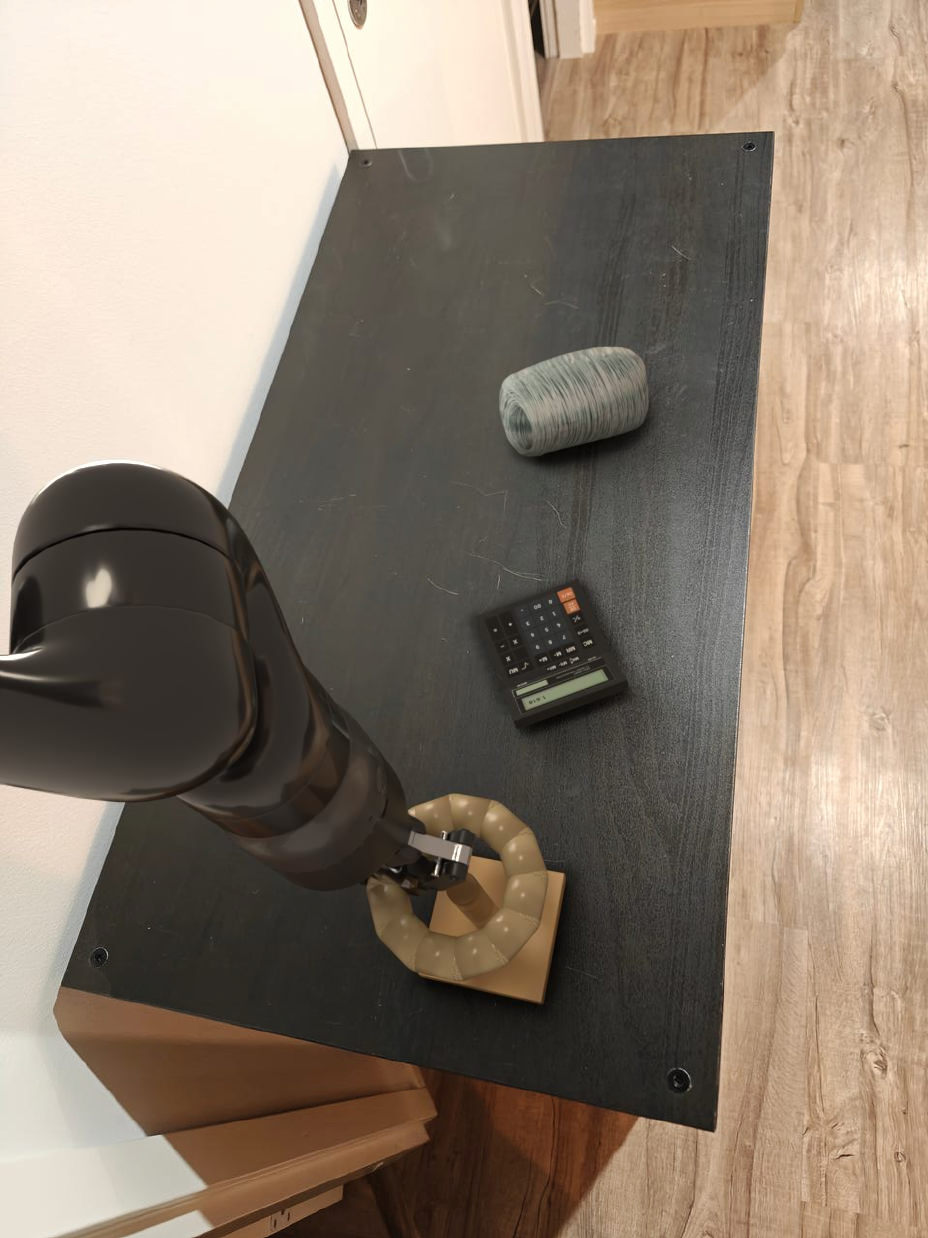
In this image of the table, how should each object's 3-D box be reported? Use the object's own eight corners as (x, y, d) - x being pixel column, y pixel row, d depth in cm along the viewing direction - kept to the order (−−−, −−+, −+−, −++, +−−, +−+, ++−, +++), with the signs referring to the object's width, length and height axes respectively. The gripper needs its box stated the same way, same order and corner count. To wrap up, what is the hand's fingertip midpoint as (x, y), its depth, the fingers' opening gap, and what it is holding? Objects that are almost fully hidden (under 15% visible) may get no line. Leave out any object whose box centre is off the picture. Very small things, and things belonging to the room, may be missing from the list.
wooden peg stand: (422, 977, 69) (373, 947, 57) (450, 855, 73) (410, 804, 61) (543, 1005, 66) (518, 980, 55) (566, 878, 70) (547, 829, 59)
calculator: (578, 583, 82) (576, 565, 79) (630, 699, 76) (629, 684, 73) (476, 621, 82) (470, 604, 79) (520, 739, 76) (515, 726, 73)
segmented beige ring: (353, 959, 57) (342, 953, 55) (399, 788, 62) (390, 777, 60) (528, 1000, 54) (523, 995, 52) (563, 818, 59) (559, 807, 57)
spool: (502, 475, 84) (508, 365, 79) (491, 434, 92) (496, 331, 87) (652, 474, 85) (669, 366, 80) (628, 433, 93) (642, 332, 88)
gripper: (144, 841, 44) (276, 913, 59) (429, 900, 40) (491, 960, 55) (199, 694, 47) (311, 797, 62) (468, 736, 44) (517, 835, 59)
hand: (396, 874), depth 59 cm, fingers closed on segmented beige ring, 2 cm apart
